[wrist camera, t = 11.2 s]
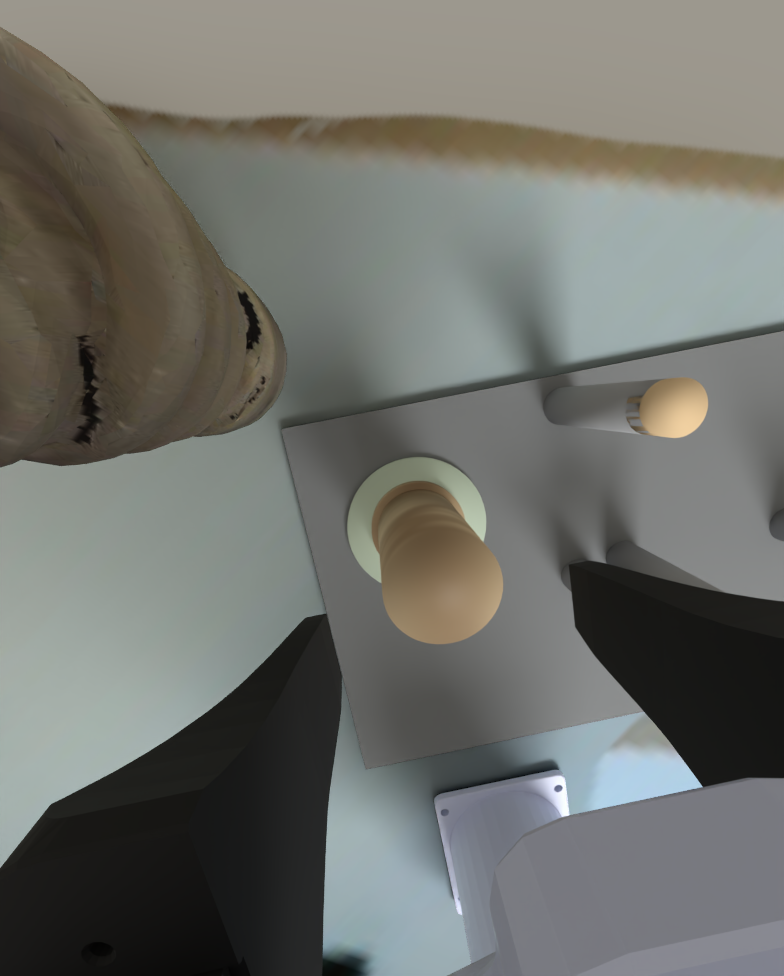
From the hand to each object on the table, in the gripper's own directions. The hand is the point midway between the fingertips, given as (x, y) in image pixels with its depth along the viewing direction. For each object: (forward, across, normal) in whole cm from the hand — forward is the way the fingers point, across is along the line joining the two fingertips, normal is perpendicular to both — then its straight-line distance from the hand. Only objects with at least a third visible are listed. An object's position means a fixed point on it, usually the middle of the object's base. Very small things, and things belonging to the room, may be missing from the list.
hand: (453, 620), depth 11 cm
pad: (+9, 0, 0) cm, 9 cm away
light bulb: (+10, +6, -9) cm, 14 cm away
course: (+9, -8, +4) cm, 13 cm away
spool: (+9, 0, 0) cm, 9 cm away
